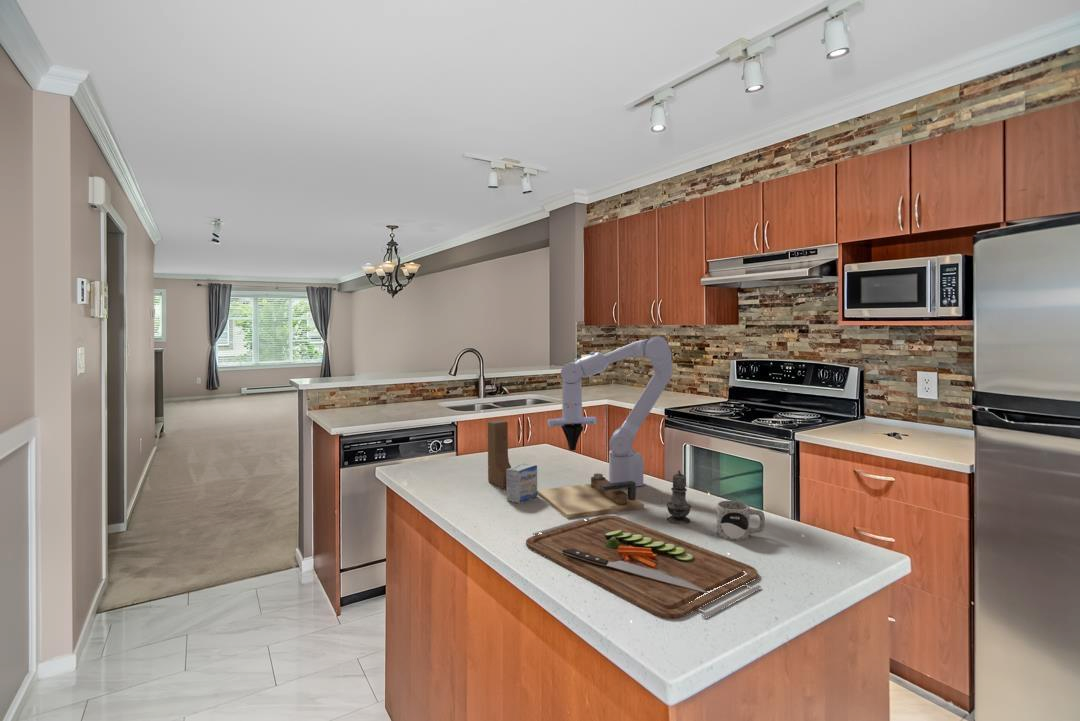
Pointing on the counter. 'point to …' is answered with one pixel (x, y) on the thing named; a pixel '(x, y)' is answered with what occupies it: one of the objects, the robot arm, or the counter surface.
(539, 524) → the counter surface
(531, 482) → the medicine box
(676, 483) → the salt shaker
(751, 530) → the mug
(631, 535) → the chopping board
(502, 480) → the wooden block
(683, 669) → the counter surface
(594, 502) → the oak board
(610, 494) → the link
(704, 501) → the counter surface
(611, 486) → the bar
